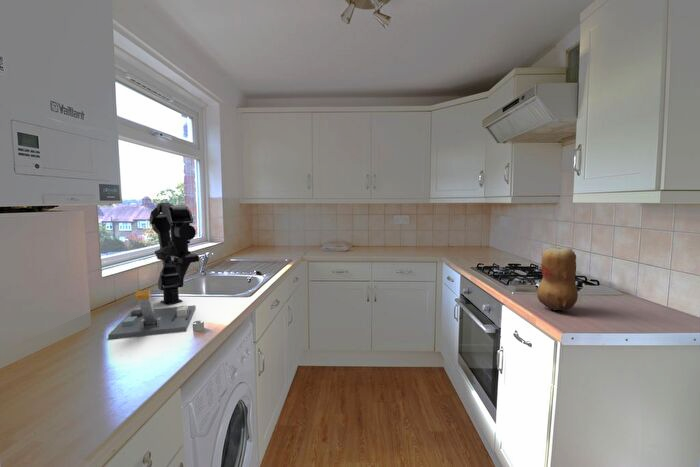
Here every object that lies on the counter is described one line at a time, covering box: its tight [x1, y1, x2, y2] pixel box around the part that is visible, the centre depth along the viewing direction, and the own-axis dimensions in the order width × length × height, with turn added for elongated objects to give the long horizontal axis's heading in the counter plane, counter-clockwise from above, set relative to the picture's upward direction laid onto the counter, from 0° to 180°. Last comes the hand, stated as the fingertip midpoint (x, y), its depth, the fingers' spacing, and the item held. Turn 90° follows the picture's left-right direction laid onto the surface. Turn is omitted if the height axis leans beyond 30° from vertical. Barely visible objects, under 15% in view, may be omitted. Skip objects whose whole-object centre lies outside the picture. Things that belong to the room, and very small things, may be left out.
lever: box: [134, 289, 157, 326], centre depth 108 cm, size 2×4×16 cm
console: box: [107, 305, 196, 340], centre depth 120 cm, size 24×22×4 cm
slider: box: [177, 308, 187, 317], centre depth 122 cm, size 2×3×2 cm, turn 107°
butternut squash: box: [536, 246, 579, 312], centre depth 131 cm, size 14×13×25 cm
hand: (181, 278), depth 130 cm, fingers closed
